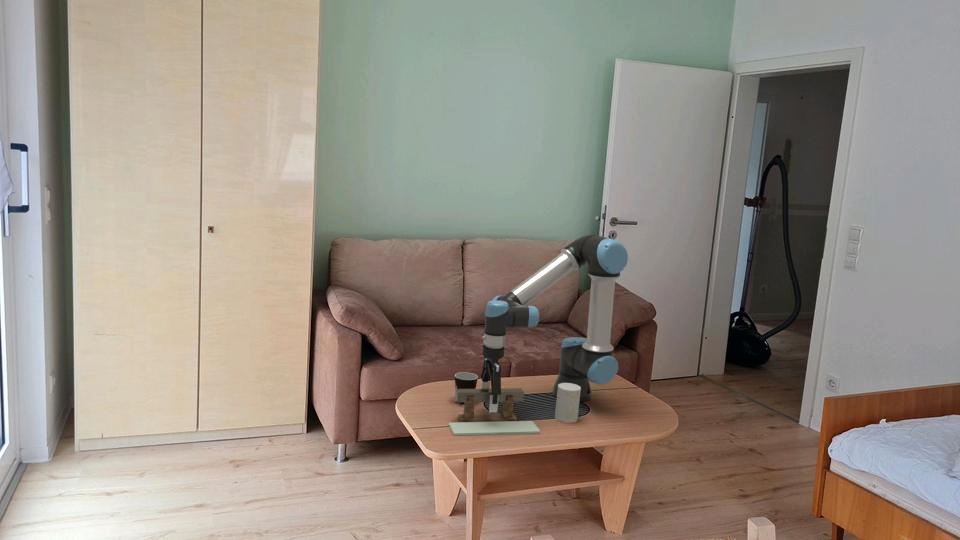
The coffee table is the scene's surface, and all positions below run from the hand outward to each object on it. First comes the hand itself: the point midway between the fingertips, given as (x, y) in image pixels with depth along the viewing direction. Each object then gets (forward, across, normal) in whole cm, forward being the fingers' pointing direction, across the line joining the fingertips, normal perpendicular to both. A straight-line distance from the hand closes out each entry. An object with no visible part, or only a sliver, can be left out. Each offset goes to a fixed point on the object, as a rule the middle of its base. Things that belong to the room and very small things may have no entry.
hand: (488, 405), depth 255 cm
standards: (+5, 0, 0) cm, 5 cm away
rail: (-2, 0, 0) cm, 2 cm away
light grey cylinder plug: (+5, +1, +29) cm, 29 cm away
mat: (+5, +9, 0) cm, 10 cm away
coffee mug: (+5, -18, -4) cm, 19 cm away
